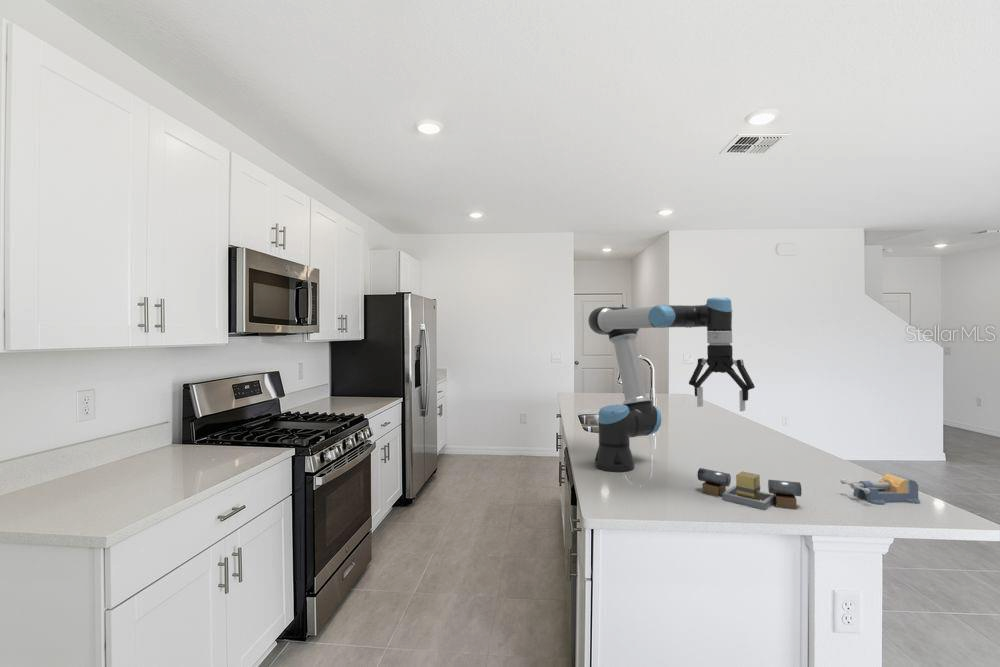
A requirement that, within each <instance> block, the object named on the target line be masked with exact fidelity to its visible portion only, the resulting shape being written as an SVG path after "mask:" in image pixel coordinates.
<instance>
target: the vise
mask: <svg viewBox="0 0 1000 667" xmlns="http://www.w3.org/2000/svg"><path fill="white" fill-rule="evenodd" d="M839 482H840V483H841V485H848V486H849V487H850V488H851V489H852V490H853V492H852V494H853V496H854V497H856V498H857V499H858V498H866V502H867V503H870V504H872V505H879V506H884V505H885V504H886V503H887V504H888V503H909V504H913V503H914V505H915V504H916V505H918V504H920V503H921V500H920V498H919V484H918V482H917V481H915V480H913V479H910V478H908V477H904V476H901V475H899V474H895V473H885V474H883V476H882V478H881V480H878V482H876V481H875V482H871V481H870V480H860V481H859V482H857V481H856V482H848V481H847V479H844V478H840V481H839Z"/></svg>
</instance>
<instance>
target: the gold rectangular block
mask: <svg viewBox="0 0 1000 667" xmlns="http://www.w3.org/2000/svg"><path fill="white" fill-rule="evenodd" d="M735 478H736V479H735V482H736V484H735V486H736V494H735V495H737V496H741V497H745V498H750V499H754V500H758V501H761V499H760V492H761V480H760V479H761V476H760V474H757V473H751V472H747V471H741V472H739V473H737V474H736V475H735Z"/></svg>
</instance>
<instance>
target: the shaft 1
mask: <svg viewBox="0 0 1000 667" xmlns="http://www.w3.org/2000/svg"><path fill="white" fill-rule="evenodd" d="M696 476H697V479H698V480H699V481H700V482H703V483H702V484H701V486H702V494H706V495H710V496H714V497H718V498H719V497H720V496H723V493H724V492H725V491H727V487H730V485H731V481H732V476H731V474H730V473H729V472H728V473H727V472H723V471H717V470H714V469H712V470H711V469H708V468H703V467H699V468H698V470H697V475H696Z"/></svg>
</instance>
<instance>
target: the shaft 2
mask: <svg viewBox="0 0 1000 667" xmlns="http://www.w3.org/2000/svg"><path fill="white" fill-rule="evenodd" d="M767 488H768V494H773V495H774V496H775V503H774V504H775V506H776V508H782V509H784V508H785V509H792V510H797V498H796V497H802V484H801V482H799V481H790V480H777V479H768V480H767Z"/></svg>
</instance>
